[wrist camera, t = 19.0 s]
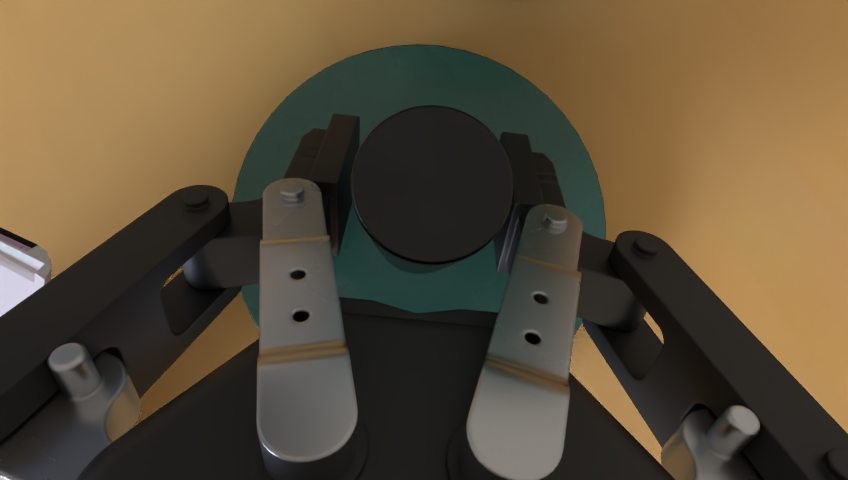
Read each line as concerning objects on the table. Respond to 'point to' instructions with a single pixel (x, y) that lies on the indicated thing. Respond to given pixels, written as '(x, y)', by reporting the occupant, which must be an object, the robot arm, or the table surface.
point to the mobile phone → (20, 269)
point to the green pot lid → (425, 171)
